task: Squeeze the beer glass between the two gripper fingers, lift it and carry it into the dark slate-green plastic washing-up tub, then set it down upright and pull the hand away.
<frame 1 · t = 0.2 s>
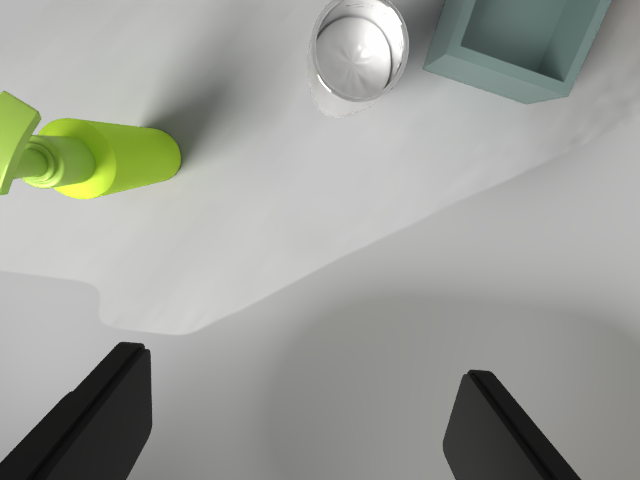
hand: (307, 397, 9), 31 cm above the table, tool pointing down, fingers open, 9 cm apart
soap dispenser: (157, 151, 36), on the table
washing-up tub: (499, 23, 34), on the table
beer glass: (337, 89, 35), on the table
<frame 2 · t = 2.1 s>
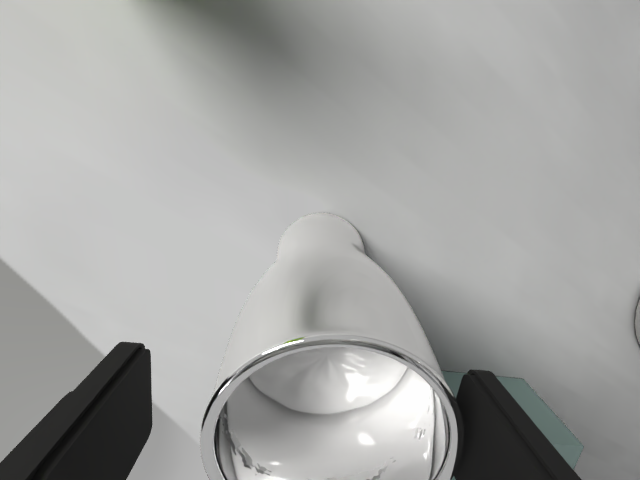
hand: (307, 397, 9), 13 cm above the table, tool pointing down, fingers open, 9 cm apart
washing-up tub: (426, 435, 27), on the table
beer glass: (320, 253, 22), on the table
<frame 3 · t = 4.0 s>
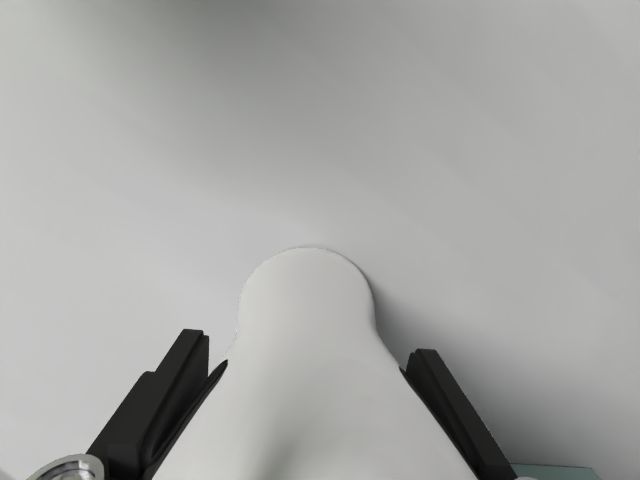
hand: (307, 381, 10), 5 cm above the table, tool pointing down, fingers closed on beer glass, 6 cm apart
beer glass: (306, 307, 15), on the table, touching gripper
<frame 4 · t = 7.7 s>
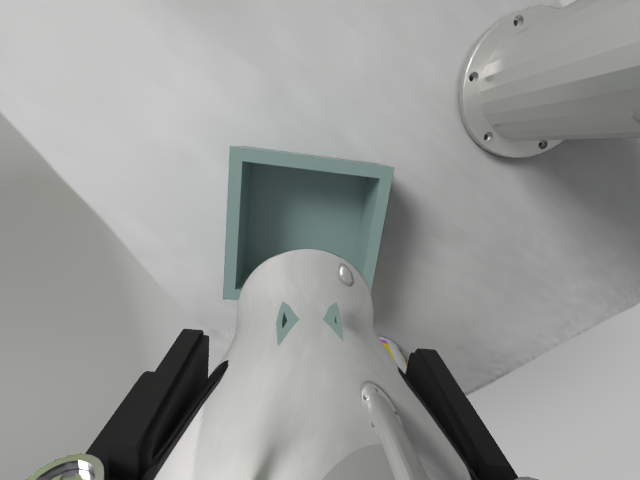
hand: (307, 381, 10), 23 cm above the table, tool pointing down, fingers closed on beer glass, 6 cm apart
supplement bottle: (372, 357, 38), on the table
washing-up tub: (304, 220, 32), on the table
beer glass: (305, 307, 15), point 18 cm above the table, touching gripper
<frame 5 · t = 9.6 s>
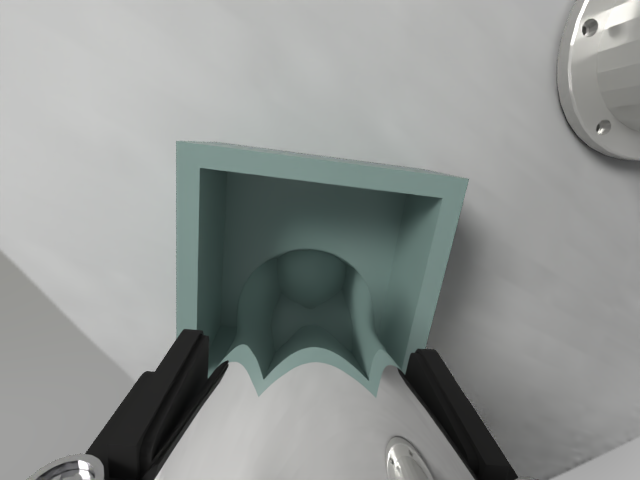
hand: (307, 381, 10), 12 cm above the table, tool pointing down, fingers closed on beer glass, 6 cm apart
washing-up tub: (309, 254, 21), on the table
beer glass: (305, 307, 15), point 7 cm above the table, touching gripper
when the fingers open (8 cm above the table, at t = 11.5 s): beer glass drops 2 cm, resting on washing-up tub.
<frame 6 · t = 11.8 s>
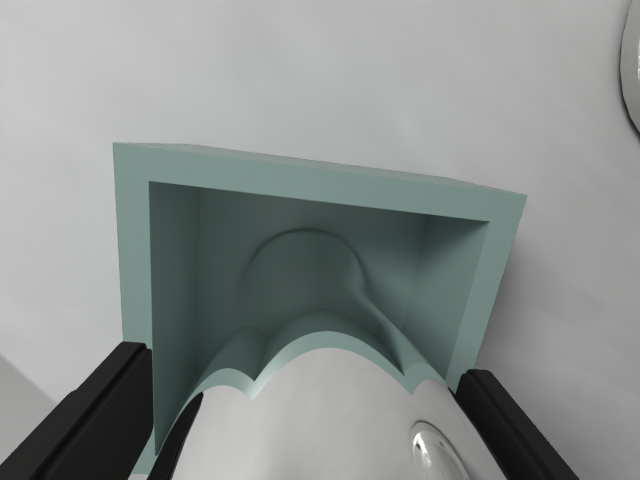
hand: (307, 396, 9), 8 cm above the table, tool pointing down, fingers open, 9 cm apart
washing-up tub: (306, 282, 17), on the table
beer glass: (305, 285, 16), point 1 cm above the table, touching washing-up tub
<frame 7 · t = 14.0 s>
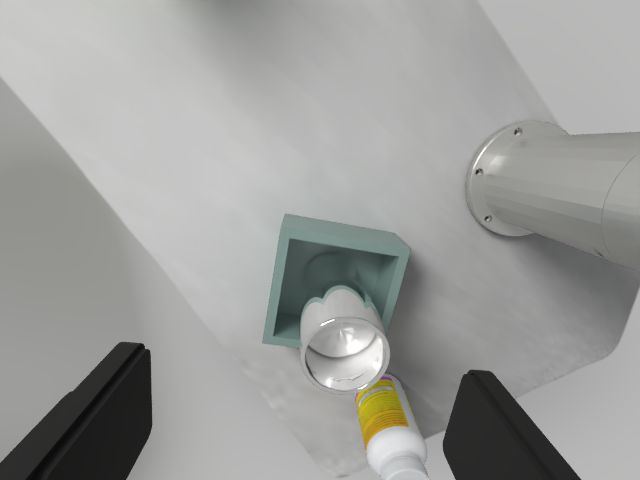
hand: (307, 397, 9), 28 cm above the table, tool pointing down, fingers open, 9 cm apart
supplement bottle: (377, 389, 44), on the table
washing-up tub: (329, 275, 38), on the table
beer glass: (330, 275, 37), point 1 cm above the table, touching washing-up tub
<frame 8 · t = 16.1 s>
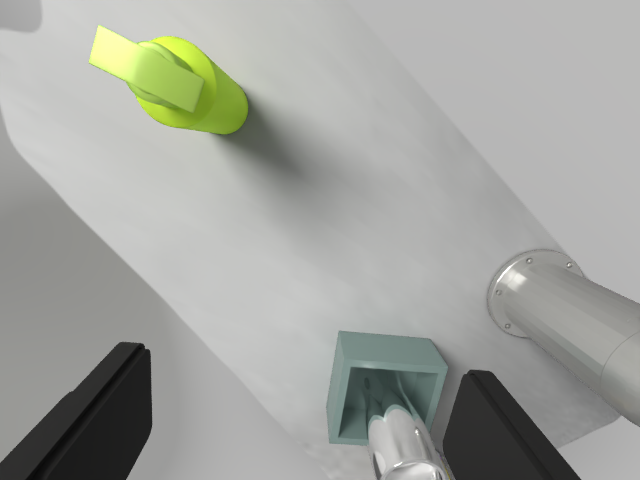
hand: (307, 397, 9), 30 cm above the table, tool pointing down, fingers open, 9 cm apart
soap dispenser: (226, 108, 35), on the table
washing-up tub: (376, 373, 46), on the table
beer glass: (377, 376, 45), point 1 cm above the table, touching washing-up tub
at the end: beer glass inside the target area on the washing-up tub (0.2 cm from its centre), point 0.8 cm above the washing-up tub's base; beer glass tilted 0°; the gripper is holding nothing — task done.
